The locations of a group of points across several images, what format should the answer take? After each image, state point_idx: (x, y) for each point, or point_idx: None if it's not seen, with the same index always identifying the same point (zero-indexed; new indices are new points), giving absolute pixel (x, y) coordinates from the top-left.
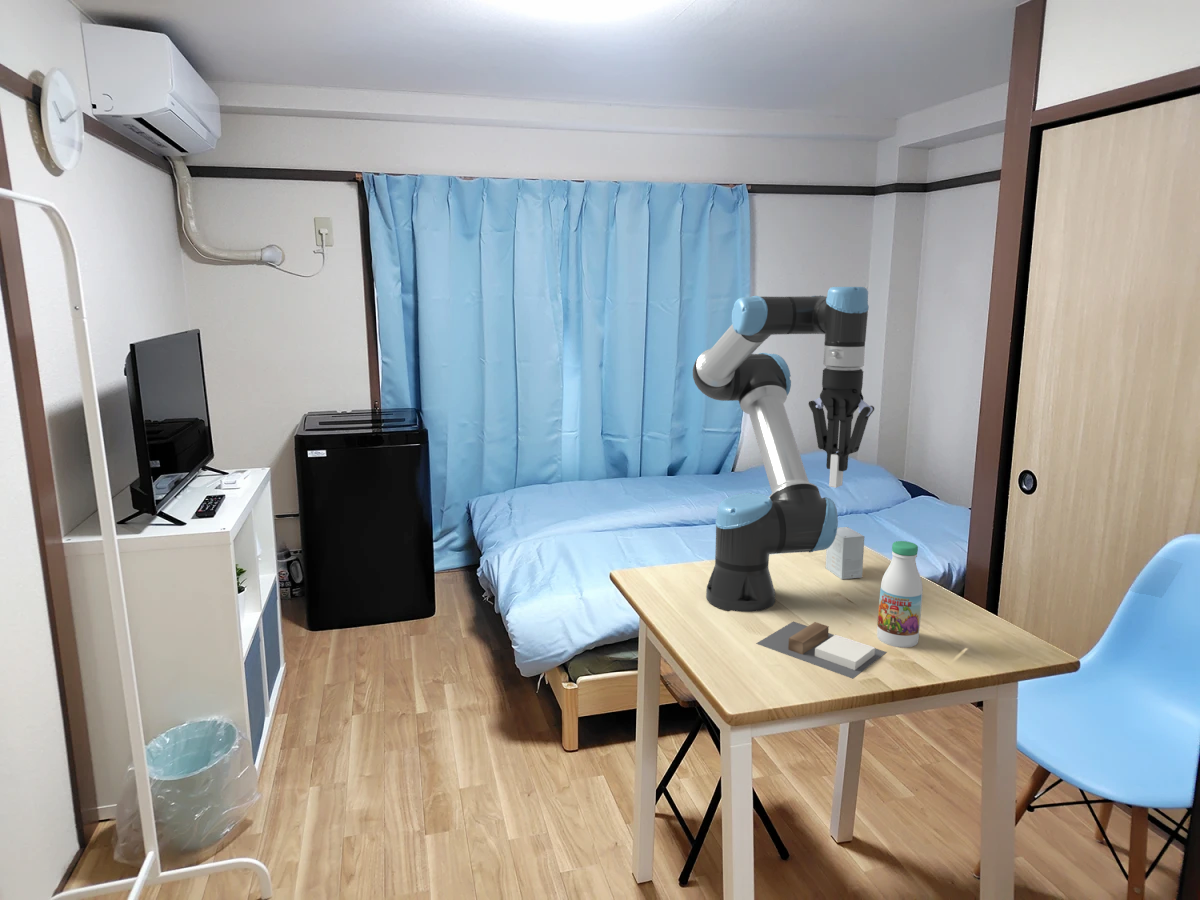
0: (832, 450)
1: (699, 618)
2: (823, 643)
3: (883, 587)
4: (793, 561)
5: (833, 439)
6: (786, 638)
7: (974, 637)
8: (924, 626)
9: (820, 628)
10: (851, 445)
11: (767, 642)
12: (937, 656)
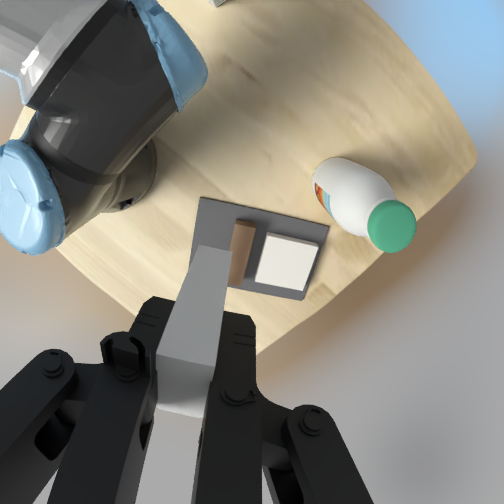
0: (152, 421)
1: (106, 244)
2: (260, 266)
3: (336, 221)
4: None
5: (136, 485)
6: None
7: (413, 132)
8: (361, 120)
9: (247, 240)
10: (290, 490)
11: None
12: None
